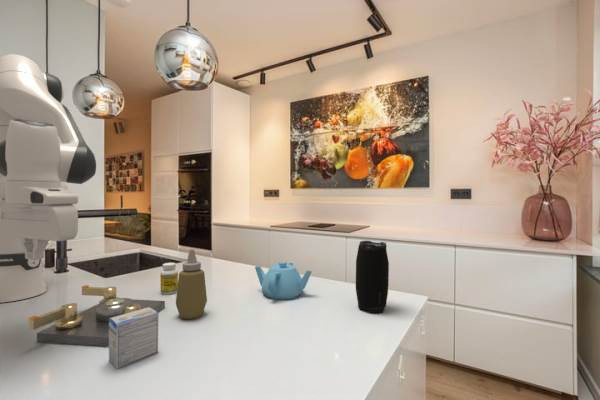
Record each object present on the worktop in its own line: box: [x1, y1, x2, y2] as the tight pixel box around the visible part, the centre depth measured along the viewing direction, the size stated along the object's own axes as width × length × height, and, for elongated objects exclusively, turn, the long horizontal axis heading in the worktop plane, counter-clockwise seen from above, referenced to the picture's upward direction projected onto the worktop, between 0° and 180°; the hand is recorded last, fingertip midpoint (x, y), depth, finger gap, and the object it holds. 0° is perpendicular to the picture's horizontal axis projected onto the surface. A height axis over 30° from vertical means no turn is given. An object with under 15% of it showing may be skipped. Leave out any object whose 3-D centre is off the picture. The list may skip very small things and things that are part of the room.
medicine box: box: [108, 307, 160, 370], centre depth 59 cm, size 8×4×9 cm, turn 141°
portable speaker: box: [355, 240, 390, 315], centre depth 86 cm, size 9×9×20 cm
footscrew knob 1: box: [28, 302, 82, 331], centre depth 66 cm, size 10×5×5 cm, turn 168°
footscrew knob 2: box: [81, 284, 120, 304], centre depth 82 cm, size 10×5×5 cm, turn 85°
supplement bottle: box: [160, 262, 179, 296], centre depth 99 cm, size 5×5×10 cm
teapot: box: [254, 261, 313, 301], centre depth 99 cm, size 15×15×11 cm
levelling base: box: [36, 297, 166, 348], centre depth 75 cm, size 17×22×6 cm
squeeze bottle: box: [175, 248, 208, 320], centre depth 80 cm, size 8×8×18 cm
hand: (34, 259), depth 63 cm, fingers closed
